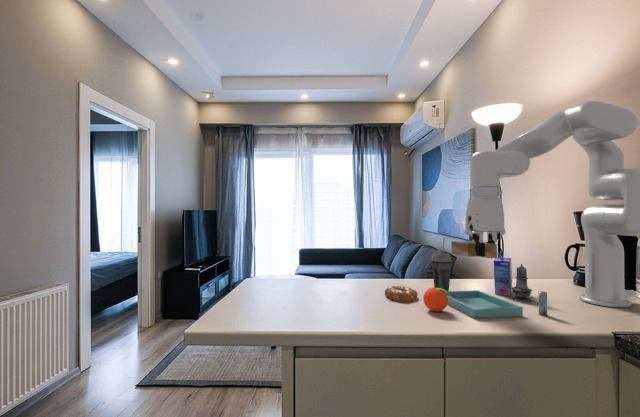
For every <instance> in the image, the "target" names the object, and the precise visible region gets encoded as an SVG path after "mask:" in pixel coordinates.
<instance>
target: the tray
mask: <svg viewBox="0 0 640 417" xmlns="http://www.w3.org/2000/svg"><path fill="white" fill-rule="evenodd" d="M447 292H448V293H449V294H450V295H449V294H448V293H447ZM447 292H445V293H446V295H447V297H448V304H447V306H449V307H451V308H453V309H454V310H456V311H458V312H459V313H462V314H464V315H466V316H468V317H470V318H472V319H474V320H478V319H479V320H480V319H493V318H494V319H495V318H496V319H497V318H509V317H510V318H511V317H512V316H515V317H524V315H523V314H524V313H523V310H524V308H523V306H520V305H518V304H515V303H514V302H510V301H507V300H505V299H502V298H499V297H497V296H494V295H492V294H489V293H486V292H483V291H481V290H479V289H476V290H475V289H474V290H451V291H450V290H449V291H447ZM450 296H451V297H450ZM512 318H513V317H512Z"/></svg>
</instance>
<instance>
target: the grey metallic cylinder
mask: <svg viewBox="0 0 640 417" xmlns="http://www.w3.org/2000/svg"><path fill="white" fill-rule="evenodd" d="M538 315H539V316H542V317H547V316H548V291H543V290H539V291H538Z"/></svg>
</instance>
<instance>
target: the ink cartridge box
mask: <svg viewBox="0 0 640 417" xmlns="http://www.w3.org/2000/svg"><path fill="white" fill-rule="evenodd" d="M512 270H513V266H512V258H511V257H503V256H502V255H501V253H500V252H499V251H497V258H494V260H493V276H494V278H493V279H494V280H493V281H494V295H498V296H499V295H500V296H507V297H508V296H509V297H511V296H512V294H513V290H512V289H511V288H512V287H513V274H512V273H513V271H512Z"/></svg>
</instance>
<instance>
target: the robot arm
mask: <svg viewBox="0 0 640 417" xmlns="http://www.w3.org/2000/svg"><path fill="white" fill-rule="evenodd" d="M638 125H639V119H638V116H637V115H636V114H635V113H634V112H633V111H631V110H630V109H628V108H626V107H623V106H618V105H614V104H611V103H607V102H604V101H597V100H588V101H584V102H580V103H577V104H574V105H572V106H567V107H565V108H562V109H559V110H558V111H556V112H555V113H554V114H552V115H550V116H549V117H548V118H546V119H545V120H543V121H542V122H541V123H539V124H537V126H535V127H534V128H532V129H531V130H529V131H527V132H525V133H523V134H521V135H520V136H518V137H516V138H514V139H512V140H510V141H509V142H507V143H505V144H503V145H502V146H500V147H498V148H497V149H496V150H483V151H477V152H475V153H473V154H472V155H471V159H470V180H471V182H470V187H471V188H470V197H471V198H468V200H467V204H466V210H465V220H464V221H465V222H464V226H465V231H464V235H467V236H468V237H470V238H471V239H472V241H474V242H476V255H477V256H476V257H479V256H482V257H481V258H485V257H484V256H485V243H483V242H484V233H486V234H487V236H486V238H487V241H485V242H486V243H491V244H497V242H498V240H499V239H500V238H501V237H502V236H505V234H506V233H507V231H506V229H505V212H504V204H503V200H502V198H501V197H500V195H502V194H503V190H502V189H500V187H501V186H500V179H503V178H512V177H518V176H521V175H524V173H525V174H526V172H527V171H528V170H529V168H530V167H531V166H530V165H531V161H530V159H534V158H537V157H540V156H542V155H544V154H545V155H546V154H547V153H549V152H551V151H552V150H554V149H555V148H556V147H558V146H559V145H560V144H562V143H563V142H565V141H566V140H567V139H569V138H570V137H572V139H573V140H574V141H575V142H576V143H577V144H578V145H579V146H580V147H581V148H582V149H583V151H585V153H586V155H587V156H588V161H589V165H588V166H589V168H588V193H589V195H590V196H589V197H590V198H592V199H594V200H596V201H623V204H618V203H617V204H616V203H615V204H614V203H612V204H611V203H610V204H608V203H607V204H595V205H591V206H588V207H586V208H585V209H584V210H583V211H582V213H581V215H580V222H581V226H582V231H583V235H584V249H585V250H584V251H585V252H584V253H585V255H584V258H585V259H584V264H585V265H584V266H585V268H584V269H585V273H584V274H585V276H584V277H585V278H584V279H585V282H584V284H585V293H581V294H579V299H580V301H582V302H585V303H589V304H592V305H597V306H602V307H610V308H629V307H631V306H632V302H631V301H630V300H628V299H627V298H628V297H636V295H637V293H636V291H635V290H633V289H630V290H627V289H625V249H624V245H623V243H622V241H621V240H620V237H618V236H626V237H627V236H628V237H630V236H631V237H640V168H639V167H632V168H625V156H624V152H623V150H622V149H621V148H620V146H618V145H617V144H616V143H615V142H614V141H615V140H621V139H624V138H627V137H629V136H631V135H633V134H634V133H635V132H636V131H637V129H638Z"/></svg>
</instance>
